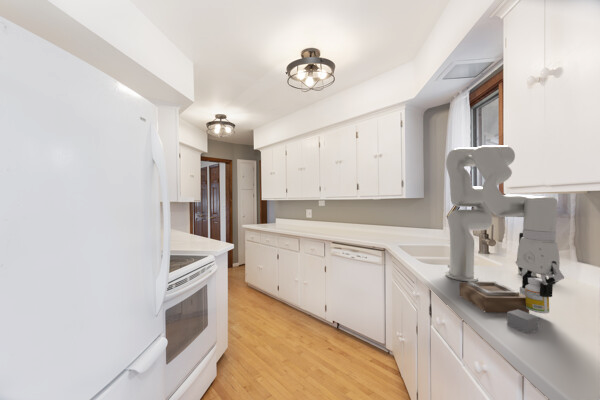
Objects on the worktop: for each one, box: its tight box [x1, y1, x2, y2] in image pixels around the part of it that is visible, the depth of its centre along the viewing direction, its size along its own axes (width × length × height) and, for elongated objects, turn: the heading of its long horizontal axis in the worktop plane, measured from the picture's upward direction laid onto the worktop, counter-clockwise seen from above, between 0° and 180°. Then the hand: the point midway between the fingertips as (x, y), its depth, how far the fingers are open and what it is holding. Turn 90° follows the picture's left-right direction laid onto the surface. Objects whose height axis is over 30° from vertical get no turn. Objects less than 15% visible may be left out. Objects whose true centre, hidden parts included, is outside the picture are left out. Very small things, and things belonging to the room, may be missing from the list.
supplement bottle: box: [525, 277, 550, 314], centre depth 79 cm, size 5×5×10 cm
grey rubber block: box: [506, 309, 539, 334], centre depth 73 cm, size 5×5×4 cm
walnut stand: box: [458, 281, 530, 314], centre depth 89 cm, size 14×14×6 cm
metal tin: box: [519, 286, 526, 296], centre depth 95 cm, size 6×6×3 cm
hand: (536, 291), depth 79 cm, fingers closed on supplement bottle, 5 cm apart
